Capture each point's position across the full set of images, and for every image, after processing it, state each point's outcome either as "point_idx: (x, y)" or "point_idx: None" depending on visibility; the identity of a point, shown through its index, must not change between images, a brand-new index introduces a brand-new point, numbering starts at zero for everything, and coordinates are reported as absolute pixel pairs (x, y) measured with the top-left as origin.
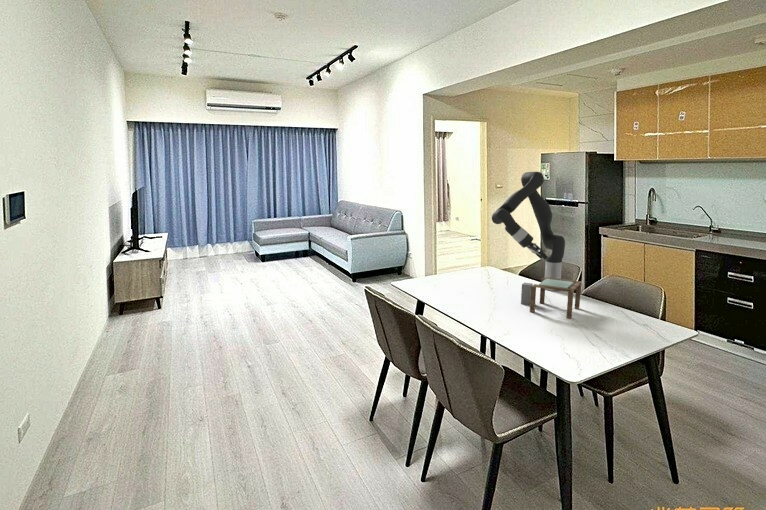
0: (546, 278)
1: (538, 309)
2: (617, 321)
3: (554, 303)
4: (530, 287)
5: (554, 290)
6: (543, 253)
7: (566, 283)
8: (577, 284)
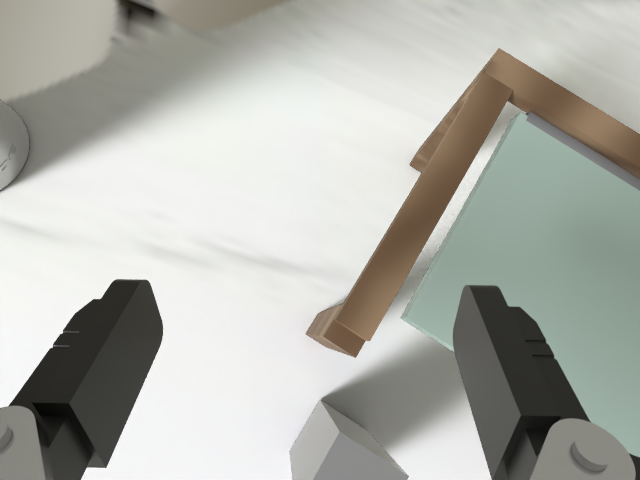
0: (386, 309)
1: (446, 390)
2: (599, 62)
3: (319, 250)
4: (393, 463)
5: (27, 149)
6: (579, 404)
7: (580, 193)
8: (601, 117)
